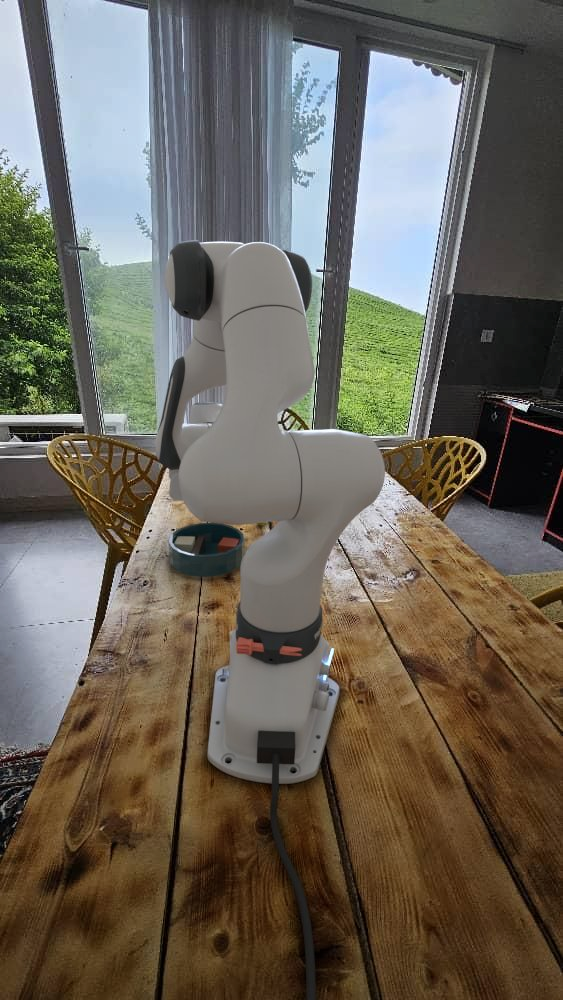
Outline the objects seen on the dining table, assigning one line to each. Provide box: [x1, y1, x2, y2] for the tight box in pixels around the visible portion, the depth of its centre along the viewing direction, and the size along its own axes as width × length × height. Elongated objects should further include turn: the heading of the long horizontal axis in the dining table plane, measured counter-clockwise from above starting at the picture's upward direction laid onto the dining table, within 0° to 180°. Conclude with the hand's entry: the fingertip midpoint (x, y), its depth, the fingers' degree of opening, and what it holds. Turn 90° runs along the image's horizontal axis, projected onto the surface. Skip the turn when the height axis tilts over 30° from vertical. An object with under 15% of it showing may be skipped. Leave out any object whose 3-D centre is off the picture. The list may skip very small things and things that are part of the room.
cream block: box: [174, 536, 195, 553], centre depth 101 cm, size 4×4×4 cm
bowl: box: [168, 522, 246, 578], centre depth 101 cm, size 17×17×6 cm
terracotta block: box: [218, 537, 240, 553], centre depth 101 cm, size 4×4×4 cm
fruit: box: [257, 522, 267, 527], centre depth 120 cm, size 10×2×5 cm, turn 173°
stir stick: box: [191, 535, 205, 555], centre depth 100 cm, size 12×2×3 cm, turn 0°
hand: (209, 517), depth 116 cm, fingers open, 3 cm apart
